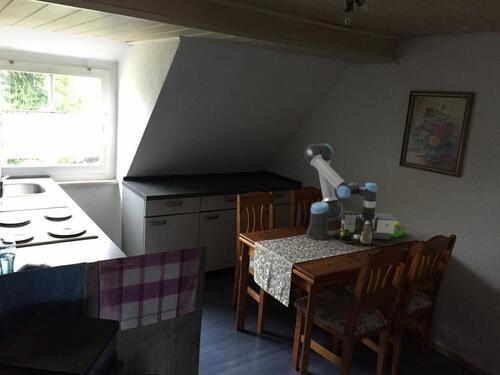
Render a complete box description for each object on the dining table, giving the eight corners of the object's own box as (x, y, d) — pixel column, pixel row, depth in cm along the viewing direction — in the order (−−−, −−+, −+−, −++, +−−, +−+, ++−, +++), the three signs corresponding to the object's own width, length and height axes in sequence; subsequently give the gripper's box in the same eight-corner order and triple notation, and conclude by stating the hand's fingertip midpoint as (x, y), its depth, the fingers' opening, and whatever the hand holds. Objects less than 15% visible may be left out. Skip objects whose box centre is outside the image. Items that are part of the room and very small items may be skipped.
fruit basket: (396, 237, 297) (398, 222, 295) (385, 234, 304) (387, 219, 301) (405, 235, 303) (407, 220, 301) (395, 232, 310) (397, 217, 308)
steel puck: (353, 240, 287) (354, 236, 286) (352, 238, 291) (353, 234, 291) (360, 240, 287) (360, 236, 286) (359, 238, 291) (359, 234, 290)
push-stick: (362, 243, 276) (364, 226, 274) (358, 236, 291) (359, 219, 288) (370, 244, 276) (371, 226, 273) (365, 236, 290) (367, 220, 288)
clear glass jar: (337, 229, 309) (339, 211, 307) (345, 227, 316) (347, 209, 314) (349, 233, 302) (351, 214, 299) (357, 230, 309) (359, 212, 306)
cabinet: (365, 242, 284) (367, 218, 281) (360, 234, 299) (363, 212, 296) (393, 243, 283) (396, 219, 280) (387, 236, 298) (389, 213, 295)
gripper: (356, 207, 270) (352, 241, 275) (384, 209, 269) (380, 243, 274) (354, 204, 278) (350, 238, 282) (381, 206, 277) (378, 239, 281)
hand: (365, 240), depth 278 cm, fingers closed on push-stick, 5 cm apart
